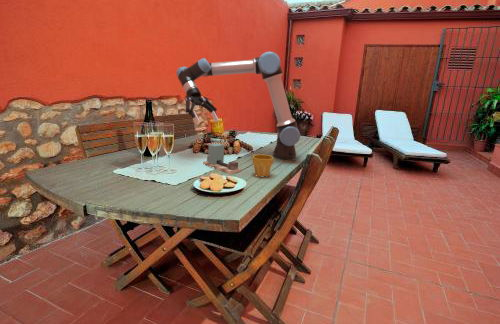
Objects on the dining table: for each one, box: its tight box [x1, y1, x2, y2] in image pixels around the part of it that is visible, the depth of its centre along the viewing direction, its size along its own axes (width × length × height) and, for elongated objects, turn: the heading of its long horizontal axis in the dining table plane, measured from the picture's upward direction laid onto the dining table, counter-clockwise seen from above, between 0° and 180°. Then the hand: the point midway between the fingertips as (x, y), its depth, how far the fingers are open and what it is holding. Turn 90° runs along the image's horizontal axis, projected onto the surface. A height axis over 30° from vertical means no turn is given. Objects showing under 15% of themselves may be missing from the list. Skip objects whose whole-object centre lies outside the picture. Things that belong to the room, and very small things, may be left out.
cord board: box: [202, 155, 242, 175], centre depth 151 cm, size 22×8×5 cm, turn 46°
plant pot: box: [252, 153, 274, 177], centre depth 141 cm, size 10×10×10 cm
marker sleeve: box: [207, 142, 225, 164], centre depth 153 cm, size 5×7×10 cm
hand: (207, 122), depth 154 cm, fingers open, 13 cm apart
